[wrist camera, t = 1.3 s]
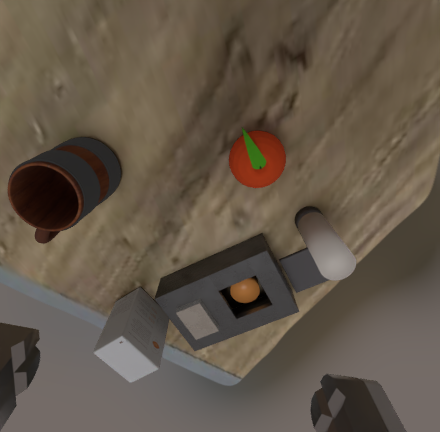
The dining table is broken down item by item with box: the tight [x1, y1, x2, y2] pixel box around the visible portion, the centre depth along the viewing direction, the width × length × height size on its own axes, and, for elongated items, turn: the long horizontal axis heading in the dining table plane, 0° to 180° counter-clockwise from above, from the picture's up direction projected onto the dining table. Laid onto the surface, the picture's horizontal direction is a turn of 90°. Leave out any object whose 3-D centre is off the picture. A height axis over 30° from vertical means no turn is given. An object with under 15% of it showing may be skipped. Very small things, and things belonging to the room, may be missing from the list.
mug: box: [8, 137, 121, 243], centre depth 36 cm, size 9×12×12 cm
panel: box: [155, 233, 299, 351], centre depth 46 cm, size 18×12×6 cm, turn 118°
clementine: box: [229, 128, 286, 188], centre depth 36 cm, size 8×7×7 cm
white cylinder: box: [295, 207, 356, 280], centre depth 38 cm, size 4×4×12 cm
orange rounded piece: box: [230, 276, 260, 303], centre depth 45 cm, size 4×4×2 cm
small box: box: [93, 287, 169, 383], centre depth 46 cm, size 8×6×10 cm
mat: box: [279, 248, 329, 293], centre depth 47 cm, size 7×7×1 cm
